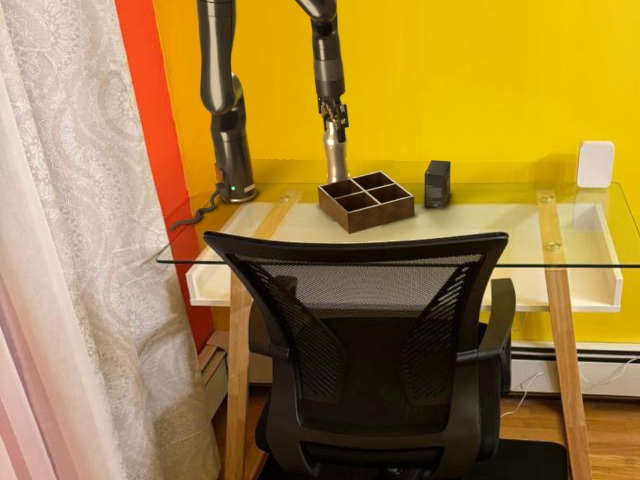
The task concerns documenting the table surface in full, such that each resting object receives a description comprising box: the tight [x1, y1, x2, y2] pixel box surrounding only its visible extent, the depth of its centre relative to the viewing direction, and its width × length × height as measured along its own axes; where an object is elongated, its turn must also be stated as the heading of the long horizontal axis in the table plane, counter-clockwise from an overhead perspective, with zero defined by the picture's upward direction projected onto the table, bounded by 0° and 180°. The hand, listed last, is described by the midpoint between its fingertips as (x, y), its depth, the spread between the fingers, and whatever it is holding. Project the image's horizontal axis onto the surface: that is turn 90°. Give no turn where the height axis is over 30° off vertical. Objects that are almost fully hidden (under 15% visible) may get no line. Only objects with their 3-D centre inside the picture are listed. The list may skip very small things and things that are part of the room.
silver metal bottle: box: [321, 118, 351, 184], centre depth 211 cm, size 6×7×20 cm
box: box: [423, 159, 452, 209], centre depth 207 cm, size 9×6×10 cm, turn 167°
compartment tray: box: [317, 170, 416, 235], centre depth 205 cm, size 19×19×6 cm
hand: (335, 137), depth 208 cm, fingers open, 8 cm apart
